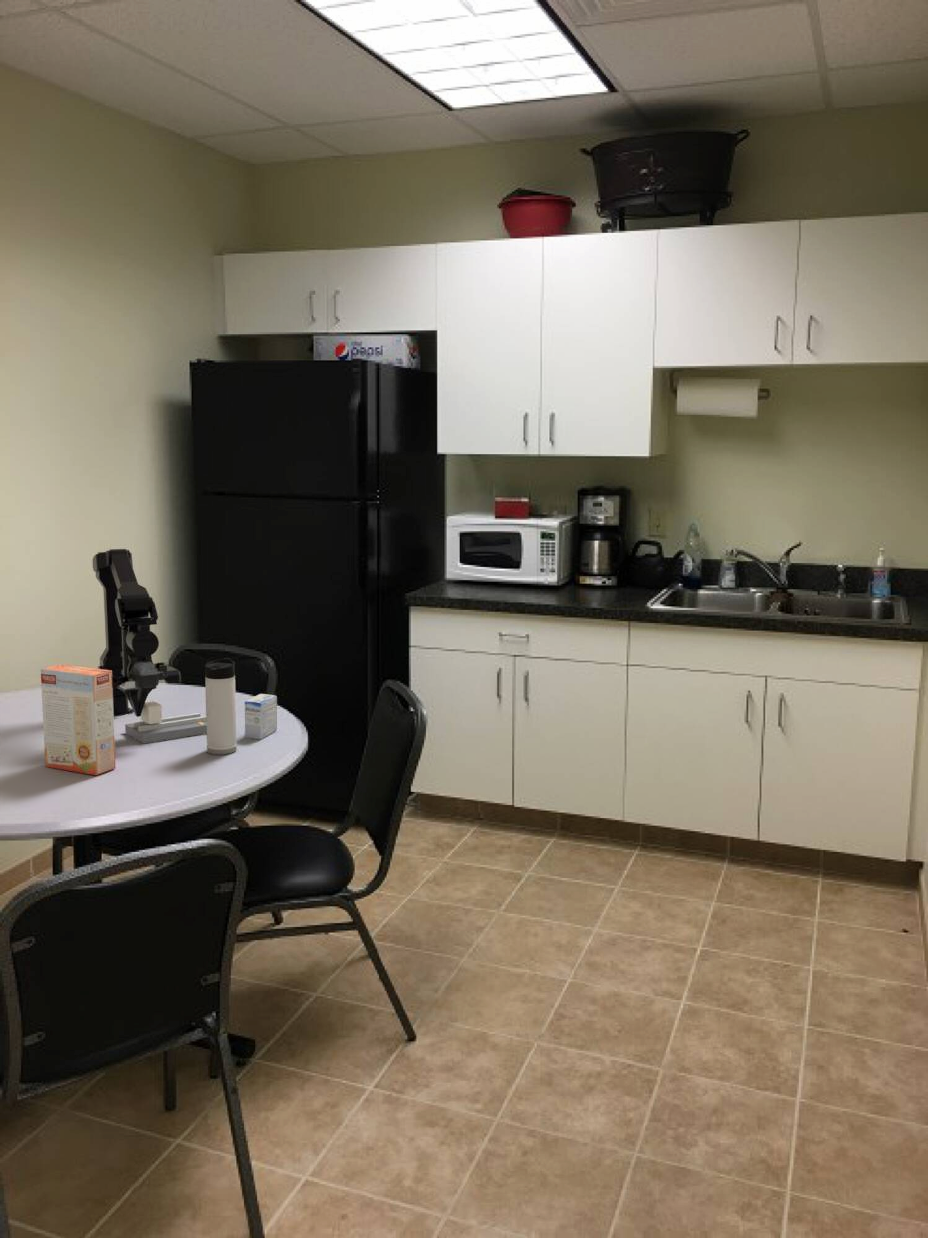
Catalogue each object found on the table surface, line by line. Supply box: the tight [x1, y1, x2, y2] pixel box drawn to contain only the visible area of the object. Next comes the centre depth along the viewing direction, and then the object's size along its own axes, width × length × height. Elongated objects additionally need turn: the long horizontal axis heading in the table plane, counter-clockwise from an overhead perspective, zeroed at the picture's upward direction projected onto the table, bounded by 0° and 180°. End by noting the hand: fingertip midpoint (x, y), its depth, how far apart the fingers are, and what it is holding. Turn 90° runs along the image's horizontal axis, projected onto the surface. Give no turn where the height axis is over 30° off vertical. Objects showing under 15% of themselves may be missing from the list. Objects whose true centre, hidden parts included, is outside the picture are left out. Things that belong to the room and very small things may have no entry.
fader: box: [140, 700, 163, 726], centre depth 244 cm, size 5×3×5 cm, turn 38°
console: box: [124, 712, 207, 745], centre depth 247 cm, size 11×17×3 cm, turn 128°
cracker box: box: [40, 663, 116, 776], centre depth 218 cm, size 14×6×21 cm, turn 65°
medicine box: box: [244, 693, 278, 740], centre depth 246 cm, size 8×4×9 cm, turn 164°
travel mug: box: [204, 657, 237, 756], centre depth 232 cm, size 6×7×20 cm
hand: (137, 716), depth 242 cm, fingers closed
